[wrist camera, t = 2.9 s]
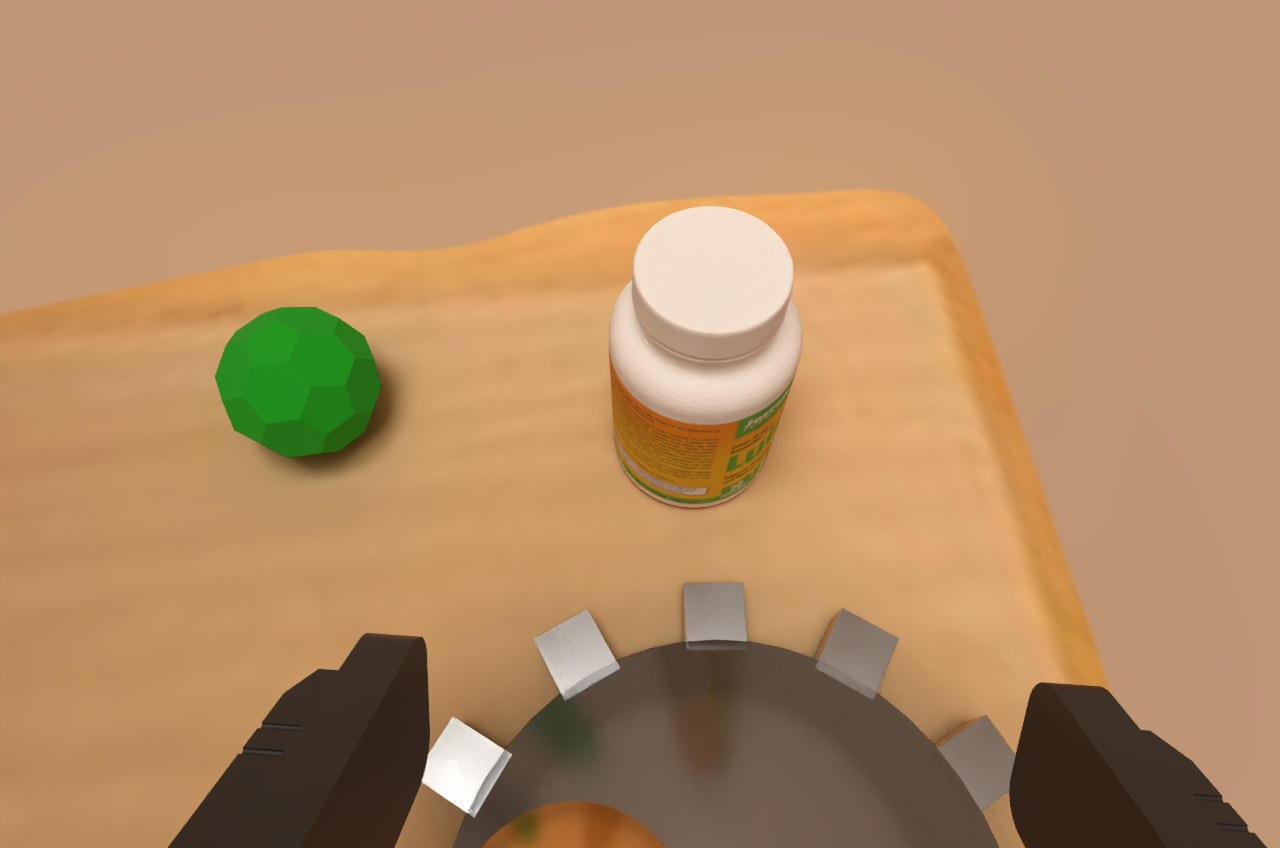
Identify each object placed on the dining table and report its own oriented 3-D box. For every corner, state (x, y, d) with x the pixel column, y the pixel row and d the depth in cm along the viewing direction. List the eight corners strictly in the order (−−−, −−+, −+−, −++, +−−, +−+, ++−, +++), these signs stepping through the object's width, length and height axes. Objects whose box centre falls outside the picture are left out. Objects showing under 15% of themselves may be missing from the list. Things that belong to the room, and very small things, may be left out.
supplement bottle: (734, 536, 27) (781, 393, 18) (588, 475, 28) (565, 311, 19) (788, 406, 29) (853, 223, 20) (651, 354, 30) (657, 158, 21)
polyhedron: (226, 443, 28) (152, 373, 24) (313, 338, 30) (259, 256, 26) (342, 503, 27) (286, 442, 23) (423, 390, 29) (386, 315, 25)
